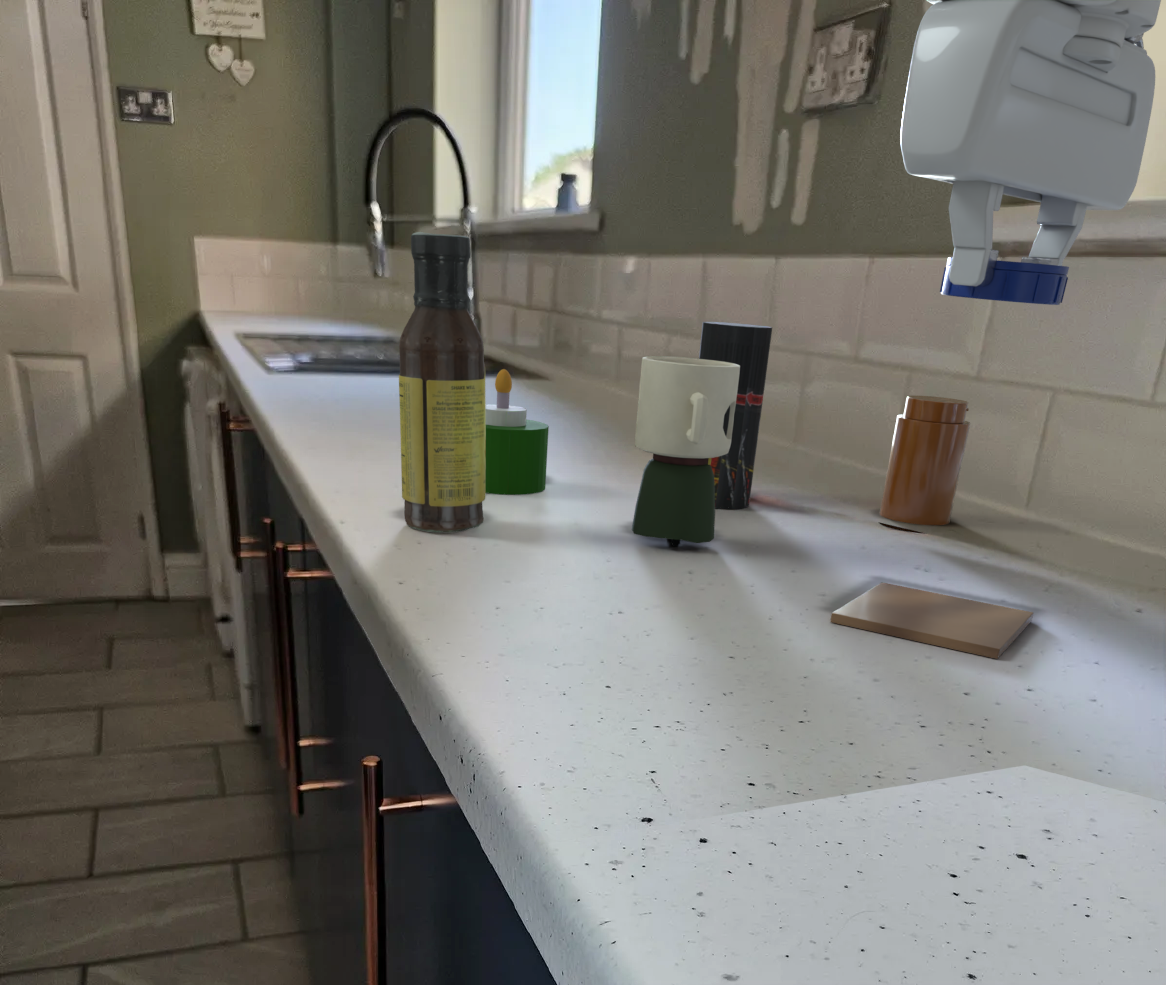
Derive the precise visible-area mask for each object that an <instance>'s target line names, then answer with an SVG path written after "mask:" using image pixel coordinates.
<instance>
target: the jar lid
mask: <svg viewBox="0 0 1166 985" xmlns="http://www.w3.org/2000/svg"><path fill="white" fill-rule="evenodd" d="M952 258H953V256H949V257H947V261H946V266H945V267H944V268H943V274H942V279H941V284H940V288H939V293H940V294H941V295H942V296H949V297H955V298H967V299H977V300H986V301H998V302H1010V303H1021V304H1033V305H1047V306H1048V305H1049V306H1060V305H1061V303H1063V300H1064V297H1065V291H1066V287H1067V284H1068V280H1069V277H1068V274H1069V270H1070V267H1069V266H1067V265H1062V266H1058V265H1047V264H1036V263H1024V262H1021V261H1010V260H998V259H997V262H996V266H995V267H994V276H993V280H992V282H991V283H990V284H989V285H988V286H985V287H978V286H965V285H954V284H953V283H952V282H950V278H949V274H950V269H951V263H952Z"/></svg>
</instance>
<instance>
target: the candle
mask: <svg viewBox="0 0 1166 985" xmlns="http://www.w3.org/2000/svg"><path fill="white" fill-rule="evenodd" d="M494 382H495V383H494V388H495V390H496V404H486V456H485V457H486V470H485V494H488V495H489V494H490V495H501V496H502V495H503V496H523V495H535V494H539V493H542V492H544V491H545V490H546V484H547V465H548V464H547V463H548V446H549V445H548V444H549V429H550V428H549V427H550V426H549V424H547V423H545V422H542V421H537V420H531V419H527V413H528V411H527V410H528V408H526V407H523V406H517V405H510V393H511V391H512V388H513V381H512V377H511V374H510V373H509V371H508V370H507V369H505V368H503V369H500V370H499V372H498V373H497V375H496V378H495V381H494Z"/></svg>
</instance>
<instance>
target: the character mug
mask: <svg viewBox="0 0 1166 985" xmlns="http://www.w3.org/2000/svg"><path fill="white" fill-rule="evenodd" d="M640 365H641V366H640V378H639V388H638V399H637V410H636V411H637V412H636V423H635V433H634V434H635V435H634V447H636V448H637V449H639V450H641V451H643V452H645V453H648V454H652V458H651V459H649V460H648V462H647V463H646V465H645V467H644V469H643V472H642V476H641V480H640V485H639V490H638V494H637V498H636V501H635V502H636V503H635V506H634V514H633V518H632V523H631V524H632V525H631V531H632V533H633V534H634V535H637V536H641V537H647V538H655V539H667V540H671V545H672V546H673V547H678V546H679V545H680V543H681V541H683V542H689V543H693V544H694V543H695V544H703V543H710V542H711V541H713V540H714V539H715V527H716V508H715V487H714V473H713V470H712V467H711V466H710V465H711V458H714V457H719V456H722V455H725V454H727V453H728V452H729V449H730V446H731V439H732V430H733V421H734V413H735V406H736V398H737V390H738V382H739V373H740V365H737V364H734V363H729V362H722V361H715V360H705V359H699V358H693V357H684V356H667V355H666V356H664V355H663V356H662V355H652V356H643V357H642V359H641V364H640Z"/></svg>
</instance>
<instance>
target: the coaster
mask: <svg viewBox="0 0 1166 985" xmlns="http://www.w3.org/2000/svg"><path fill="white" fill-rule="evenodd" d="M1033 618H1034V612H1033V611H1028V610H1023V609H1018V608H1013V607H1008V606H1003V605H999V604H993V603H988V602H983V601H978V600H973V599H968V598H963V597H958V596H953V595H948V594H944V593H943V594H942V593H937V592H933V591H928V590H923V589H918V588H912V587H907V586H902V585H898V584H892V583H888V582H883V581H882V582H880V583H878V584H876V585H875V586H873V587H871V588H870V589H868V590H866V591H864V592H863V593H862V594H860V595H859V596H857V597H856V598H854V599H852V600H850V601H849V602H846V603H845V604H844V605H842V606H841V607H839V608H838V609H836V610H834V611H832V612H831V614H830V623H833V624H837V625H842V626H846V627H849V628H850V627H851V628H855V629H860V630H864V631H869V632H873V633H878V634H881V635H887V636H890V637H897V638H901V639H905V640H909V641H914V642H919V643H923V644H927V645H931V646H935V647H936V646H937V647H940V648H946V649H949V650H954V651H958V652H963V653H968V654H972V655H977V656H981V657H987V658H991V659H994V660H995V659H996V660H998V659H999V658H1000V657H1001V655H1003V653H1004V652H1005V651H1006V650H1007V649H1008V648H1009V647H1010V646H1011V644H1012V643H1014V642H1015V640H1016V639H1017V638H1018V637H1019V635H1021V634H1022V632H1023V631H1024V630H1026V628H1027V627H1028V626H1029V625H1030V624H1031V623H1032V622H1033Z"/></svg>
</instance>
